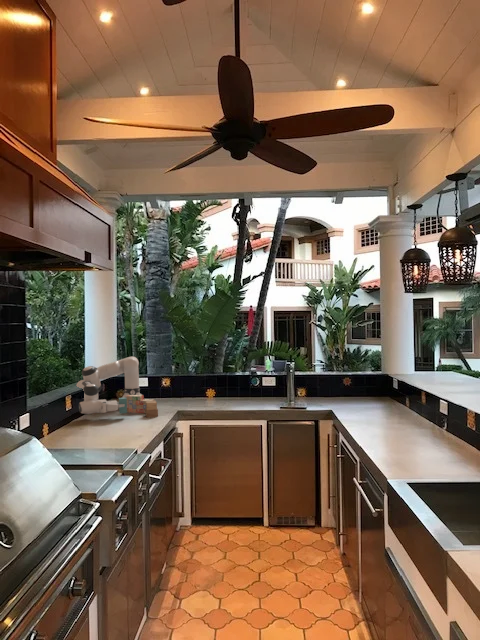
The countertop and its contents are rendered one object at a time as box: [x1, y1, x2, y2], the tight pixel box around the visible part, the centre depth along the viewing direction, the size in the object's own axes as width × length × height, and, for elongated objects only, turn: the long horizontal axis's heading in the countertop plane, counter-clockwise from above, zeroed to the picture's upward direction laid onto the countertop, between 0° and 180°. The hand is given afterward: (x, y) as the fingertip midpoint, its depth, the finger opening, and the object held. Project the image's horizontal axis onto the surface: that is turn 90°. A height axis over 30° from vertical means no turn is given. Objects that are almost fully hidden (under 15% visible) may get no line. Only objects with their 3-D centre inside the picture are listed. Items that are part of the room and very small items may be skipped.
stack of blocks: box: [125, 394, 156, 414], centre depth 358 cm, size 21×6×12 cm, turn 72°
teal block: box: [118, 397, 128, 414], centre depth 336 cm, size 5×5×10 cm
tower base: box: [144, 408, 159, 418], centre depth 342 cm, size 8×8×5 cm
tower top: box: [146, 400, 158, 410], centre depth 342 cm, size 7×7×5 cm
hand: (124, 404), depth 336 cm, fingers closed on teal block, 5 cm apart
